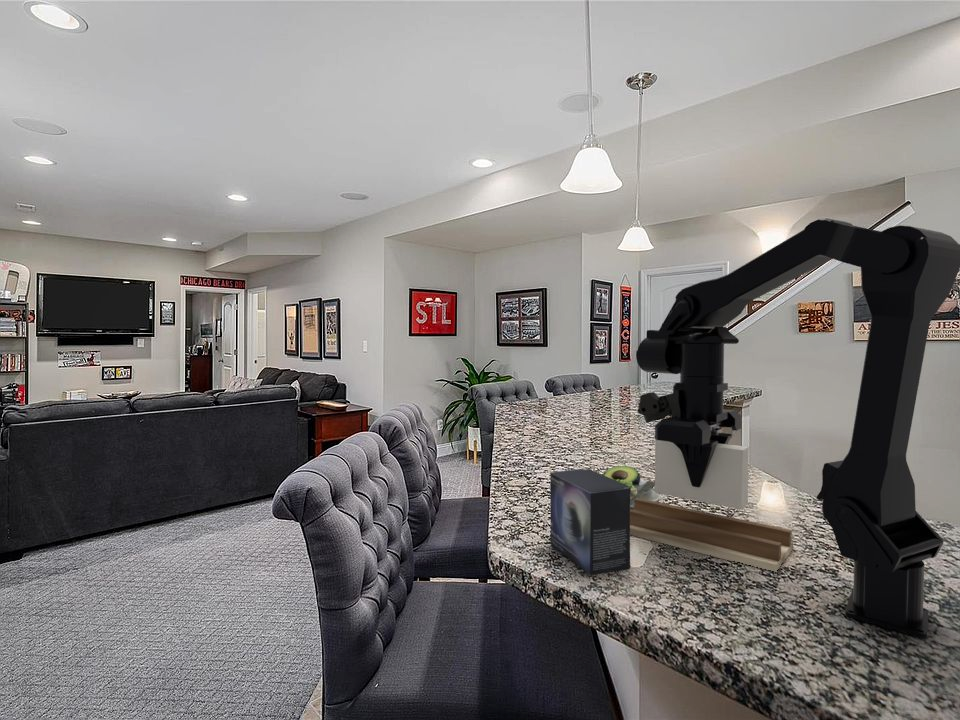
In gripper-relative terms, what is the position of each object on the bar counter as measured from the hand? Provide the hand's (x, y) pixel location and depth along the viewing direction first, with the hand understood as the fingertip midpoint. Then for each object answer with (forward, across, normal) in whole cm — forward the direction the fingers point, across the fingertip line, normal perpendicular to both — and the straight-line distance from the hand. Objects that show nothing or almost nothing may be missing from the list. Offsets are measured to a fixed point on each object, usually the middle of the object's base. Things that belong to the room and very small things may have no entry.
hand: (700, 484), depth 75 cm
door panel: (+2, 0, 0) cm, 2 cm away
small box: (+8, +16, -9) cm, 20 cm away
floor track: (+8, 0, 0) cm, 8 cm away
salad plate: (+8, -12, -20) cm, 25 cm away
